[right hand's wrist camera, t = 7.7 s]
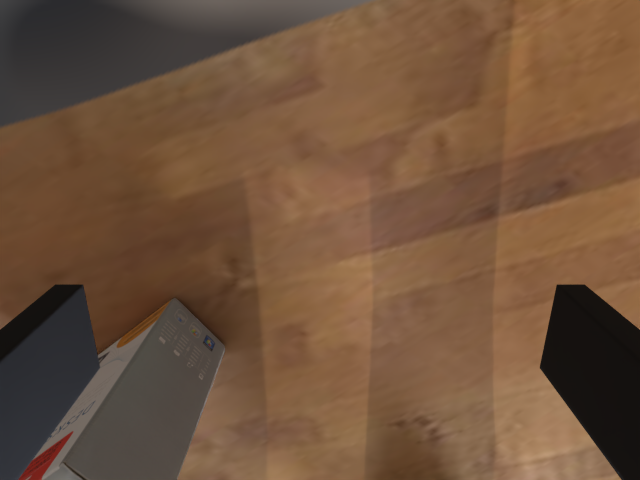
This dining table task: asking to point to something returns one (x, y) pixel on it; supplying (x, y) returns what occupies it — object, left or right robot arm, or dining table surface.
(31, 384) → the right robot arm
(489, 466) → the dining table surface
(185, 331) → the hard drive box
